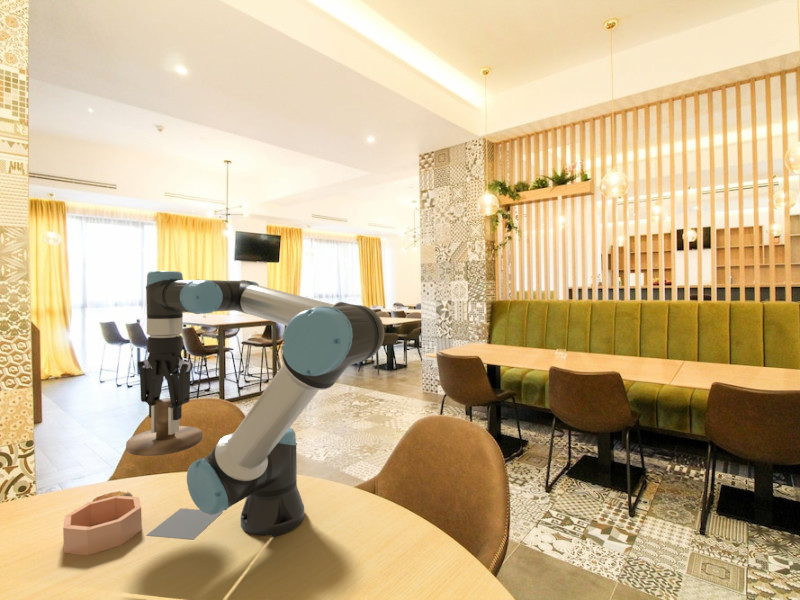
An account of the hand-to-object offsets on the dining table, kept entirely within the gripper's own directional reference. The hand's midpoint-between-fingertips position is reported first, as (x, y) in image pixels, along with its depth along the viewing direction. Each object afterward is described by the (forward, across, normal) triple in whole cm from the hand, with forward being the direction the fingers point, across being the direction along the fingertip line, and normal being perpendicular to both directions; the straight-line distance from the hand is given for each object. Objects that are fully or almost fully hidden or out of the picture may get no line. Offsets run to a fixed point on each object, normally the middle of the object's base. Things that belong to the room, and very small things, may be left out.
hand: (165, 431), depth 101 cm
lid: (+3, 0, 0) cm, 3 cm away
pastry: (+24, +21, -6) cm, 33 cm away
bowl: (+24, +11, +7) cm, 27 cm away
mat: (+23, -5, -1) cm, 24 cm away
